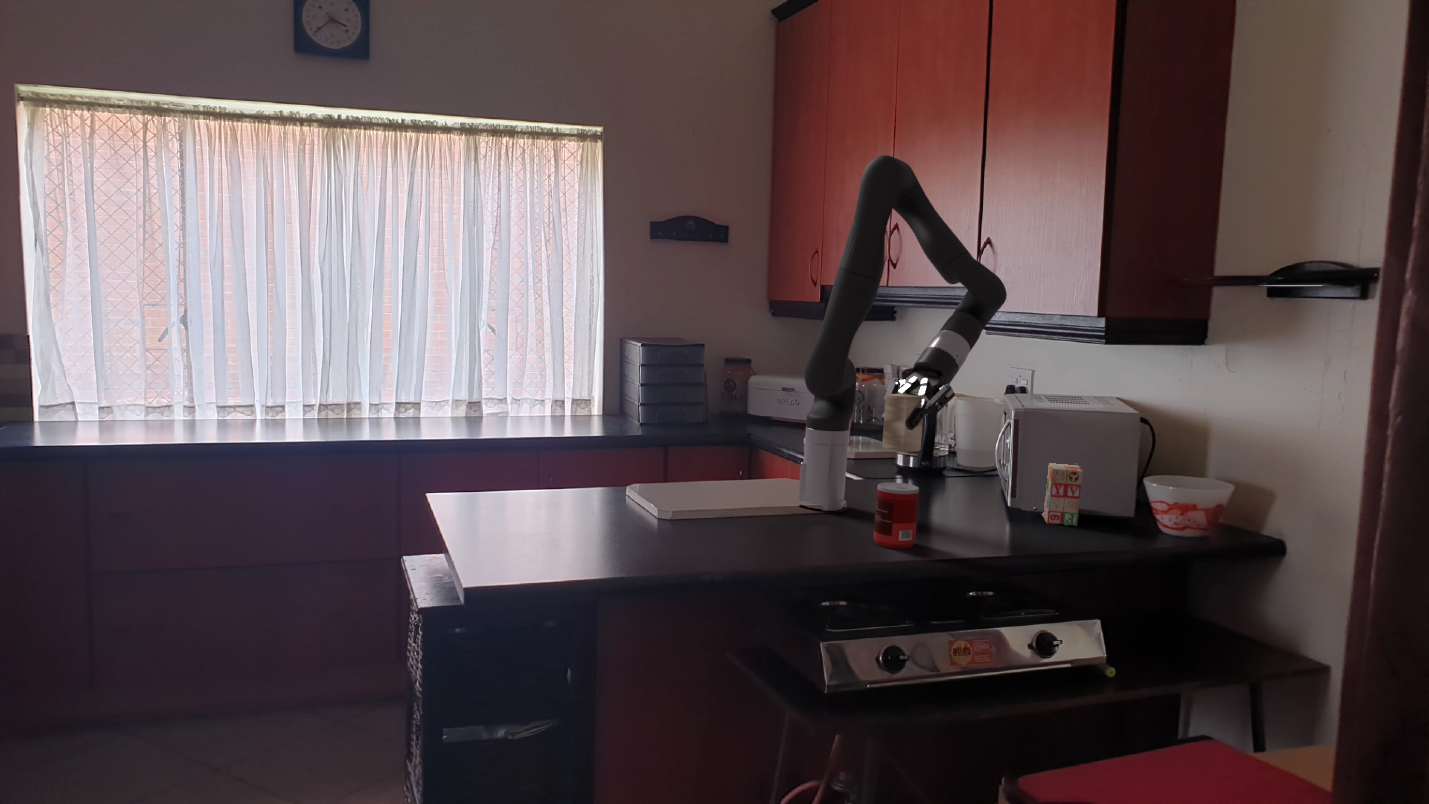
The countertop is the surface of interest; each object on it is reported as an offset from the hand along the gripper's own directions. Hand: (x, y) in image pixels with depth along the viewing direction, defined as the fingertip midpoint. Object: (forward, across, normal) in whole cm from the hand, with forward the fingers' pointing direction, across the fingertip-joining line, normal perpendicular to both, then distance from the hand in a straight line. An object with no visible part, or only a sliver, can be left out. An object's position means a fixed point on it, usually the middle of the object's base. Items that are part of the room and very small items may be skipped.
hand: (896, 424), depth 183 cm
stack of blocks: (-23, 0, +56) cm, 61 cm away
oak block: (+2, 0, +5) cm, 5 cm away
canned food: (+15, 0, +17) cm, 23 cm away
